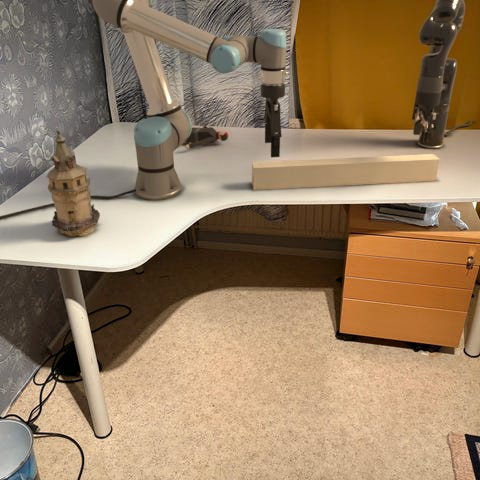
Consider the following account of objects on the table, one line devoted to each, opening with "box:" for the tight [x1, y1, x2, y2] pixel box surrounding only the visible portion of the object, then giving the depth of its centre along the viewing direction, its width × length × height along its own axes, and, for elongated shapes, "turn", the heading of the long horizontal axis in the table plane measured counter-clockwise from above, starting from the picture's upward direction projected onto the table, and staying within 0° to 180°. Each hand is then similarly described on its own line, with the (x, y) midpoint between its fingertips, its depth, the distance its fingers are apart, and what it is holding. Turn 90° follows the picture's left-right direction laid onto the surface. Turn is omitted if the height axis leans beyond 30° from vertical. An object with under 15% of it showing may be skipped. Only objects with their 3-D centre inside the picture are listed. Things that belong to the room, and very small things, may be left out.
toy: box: [184, 124, 229, 150], centre depth 219 cm, size 26×6×30 cm
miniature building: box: [46, 129, 101, 237], centre depth 148 cm, size 13×14×30 cm
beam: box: [251, 153, 440, 191], centre depth 180 cm, size 62×5×8 cm, turn 95°
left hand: (271, 149), depth 174 cm, fingers open, 13 cm apart
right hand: (421, 138), depth 177 cm, fingers open, 8 cm apart
